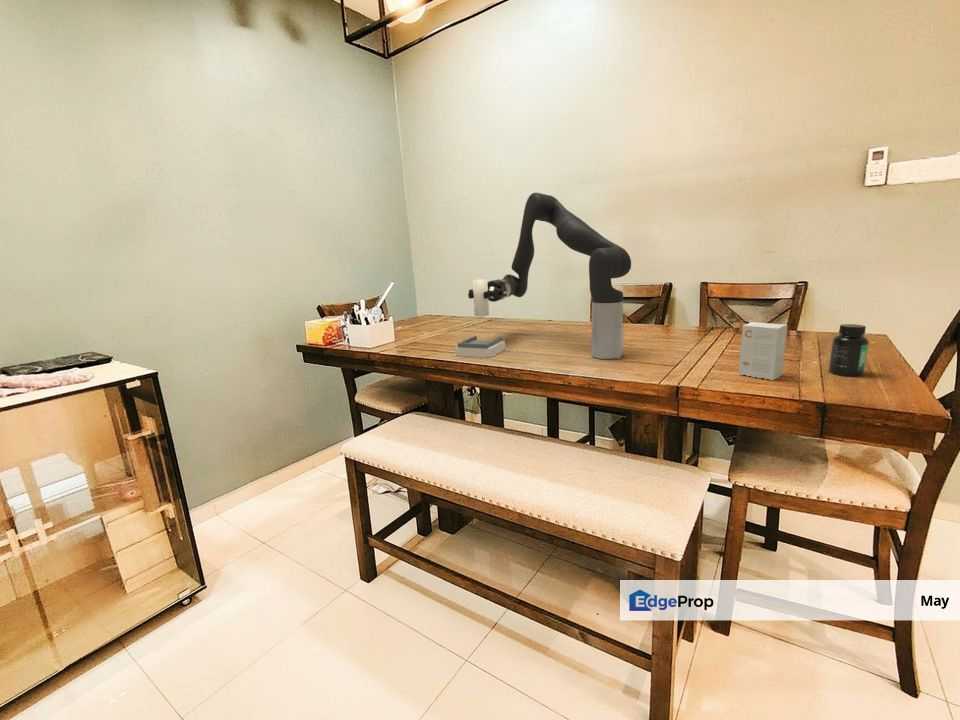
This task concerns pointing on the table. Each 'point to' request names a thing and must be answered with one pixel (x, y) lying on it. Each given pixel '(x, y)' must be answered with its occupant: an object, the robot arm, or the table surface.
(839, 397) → the table surface
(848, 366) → the supplement bottle
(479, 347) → the tray
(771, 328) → the small box
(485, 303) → the canister
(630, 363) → the table surface
